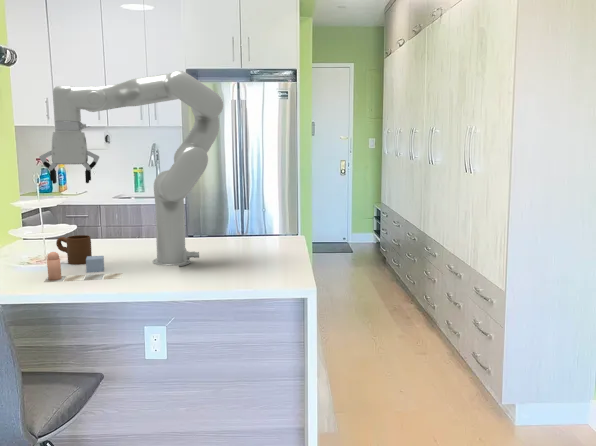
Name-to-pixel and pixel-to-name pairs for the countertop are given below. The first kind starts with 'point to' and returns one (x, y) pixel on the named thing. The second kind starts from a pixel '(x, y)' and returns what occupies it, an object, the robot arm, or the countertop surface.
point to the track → (87, 277)
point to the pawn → (53, 266)
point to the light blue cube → (94, 264)
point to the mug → (76, 248)
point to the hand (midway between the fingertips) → (71, 183)
